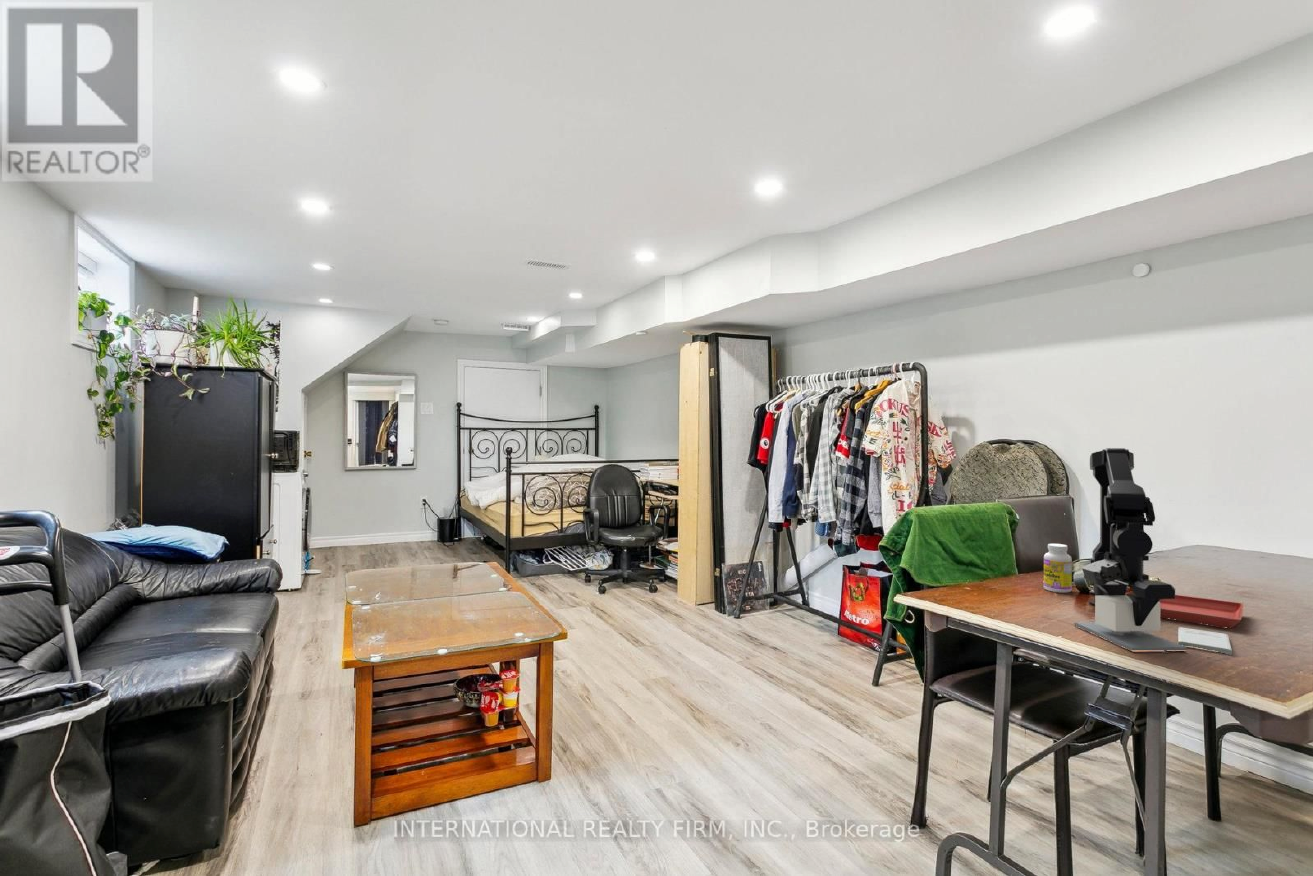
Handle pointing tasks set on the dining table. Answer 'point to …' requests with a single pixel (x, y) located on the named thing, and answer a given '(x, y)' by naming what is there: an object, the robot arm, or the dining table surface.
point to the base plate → (1131, 638)
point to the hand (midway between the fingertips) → (1126, 621)
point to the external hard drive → (1204, 640)
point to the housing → (1123, 614)
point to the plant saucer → (1201, 611)
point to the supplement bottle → (1057, 569)
